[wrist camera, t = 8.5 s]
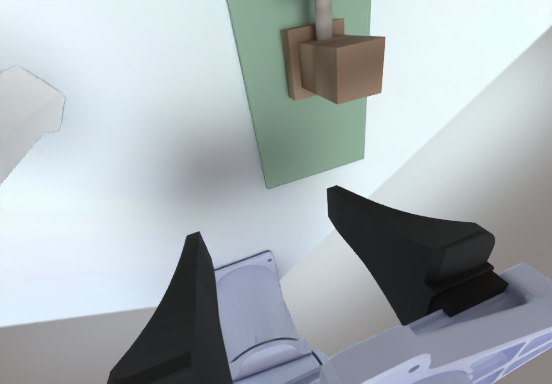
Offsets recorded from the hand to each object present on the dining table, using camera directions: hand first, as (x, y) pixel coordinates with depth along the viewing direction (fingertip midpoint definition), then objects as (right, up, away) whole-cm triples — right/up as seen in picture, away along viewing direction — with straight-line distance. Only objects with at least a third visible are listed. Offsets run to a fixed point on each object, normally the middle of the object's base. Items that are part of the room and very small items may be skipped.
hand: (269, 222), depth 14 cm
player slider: (+3, +13, +4) cm, 13 cm away
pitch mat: (+3, +11, +6) cm, 13 cm away
